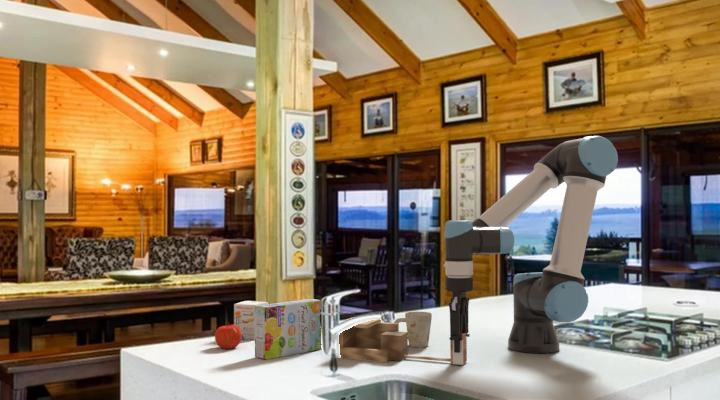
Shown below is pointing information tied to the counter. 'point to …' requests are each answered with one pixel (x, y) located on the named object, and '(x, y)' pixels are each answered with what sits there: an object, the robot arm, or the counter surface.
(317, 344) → the snack box
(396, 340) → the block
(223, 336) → the apple
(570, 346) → the counter surface
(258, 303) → the ink box
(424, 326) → the mug
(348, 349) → the cubby
